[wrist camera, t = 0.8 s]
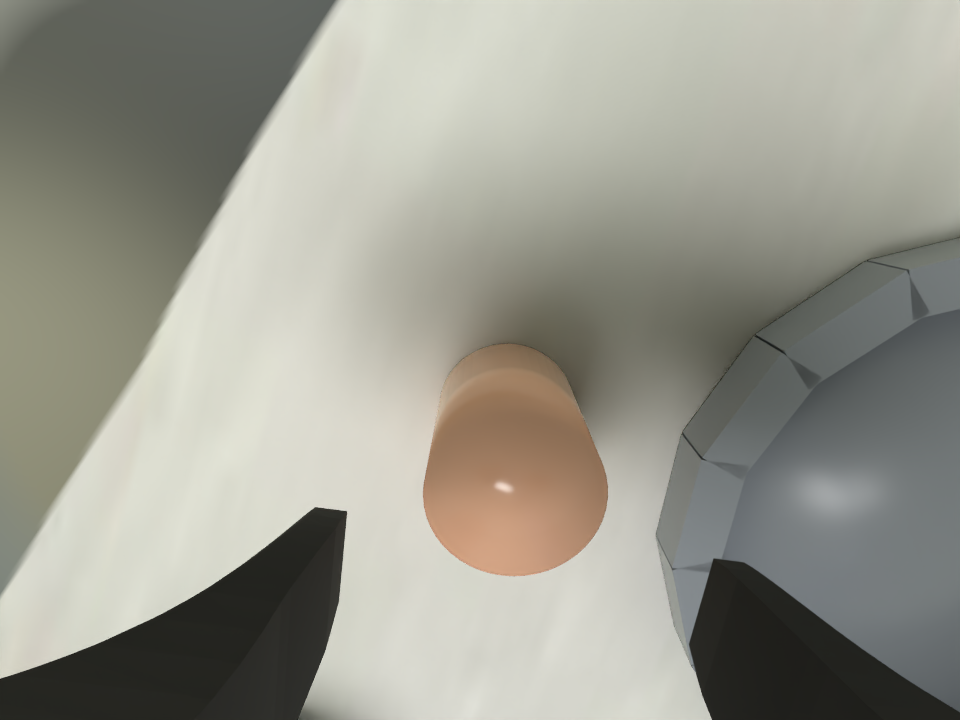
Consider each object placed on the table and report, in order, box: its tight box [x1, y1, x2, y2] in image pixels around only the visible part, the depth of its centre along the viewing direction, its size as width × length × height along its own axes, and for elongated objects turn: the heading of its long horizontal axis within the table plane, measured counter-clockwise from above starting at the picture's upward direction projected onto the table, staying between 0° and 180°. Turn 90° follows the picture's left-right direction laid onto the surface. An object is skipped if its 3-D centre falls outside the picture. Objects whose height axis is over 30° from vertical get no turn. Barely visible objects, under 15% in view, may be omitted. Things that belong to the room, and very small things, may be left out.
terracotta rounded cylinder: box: [423, 344, 608, 576], centre depth 18 cm, size 4×4×6 cm
